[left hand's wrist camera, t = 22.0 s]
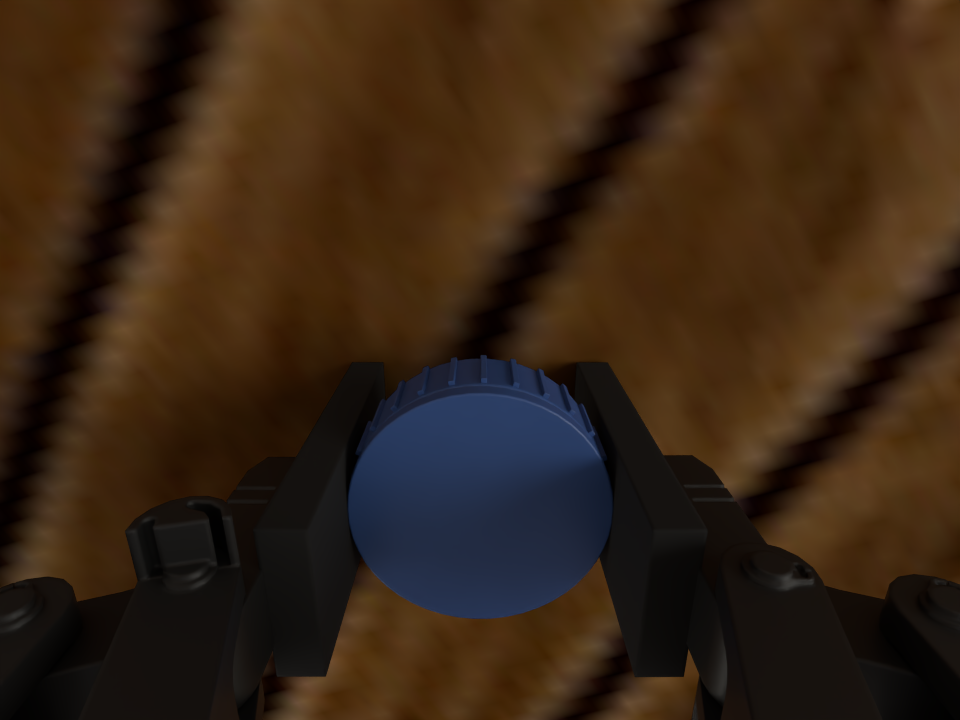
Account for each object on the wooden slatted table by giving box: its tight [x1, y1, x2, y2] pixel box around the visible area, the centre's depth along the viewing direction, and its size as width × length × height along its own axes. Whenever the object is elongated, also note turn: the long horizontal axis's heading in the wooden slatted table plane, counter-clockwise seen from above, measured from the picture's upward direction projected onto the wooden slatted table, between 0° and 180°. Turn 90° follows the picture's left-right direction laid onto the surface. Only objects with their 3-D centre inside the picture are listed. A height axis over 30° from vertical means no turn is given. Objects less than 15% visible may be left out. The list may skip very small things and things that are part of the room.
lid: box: [347, 355, 613, 619], centre depth 11 cm, size 5×5×2 cm
